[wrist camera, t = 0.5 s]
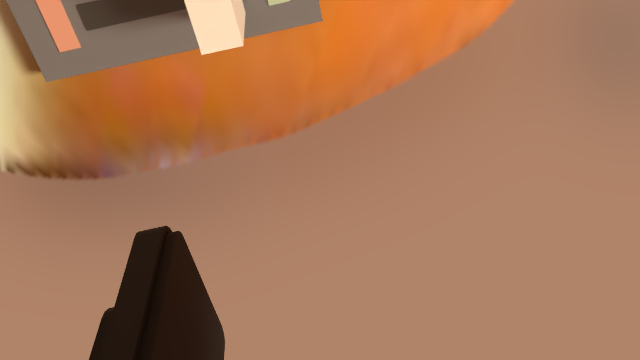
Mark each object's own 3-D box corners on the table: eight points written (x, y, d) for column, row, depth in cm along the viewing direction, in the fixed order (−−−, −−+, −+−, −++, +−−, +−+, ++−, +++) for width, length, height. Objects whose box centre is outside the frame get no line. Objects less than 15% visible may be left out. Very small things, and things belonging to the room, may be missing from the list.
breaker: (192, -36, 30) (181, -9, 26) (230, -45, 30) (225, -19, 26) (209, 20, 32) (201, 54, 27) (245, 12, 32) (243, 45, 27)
